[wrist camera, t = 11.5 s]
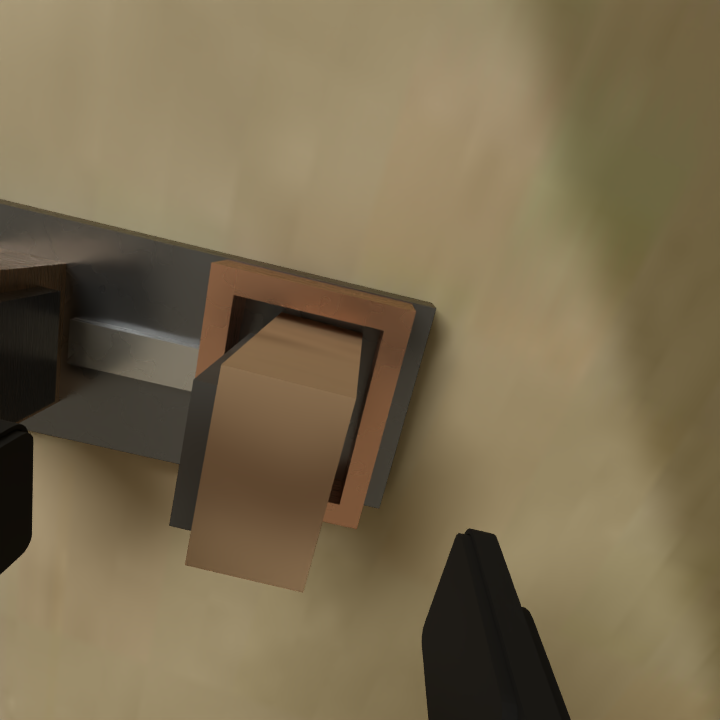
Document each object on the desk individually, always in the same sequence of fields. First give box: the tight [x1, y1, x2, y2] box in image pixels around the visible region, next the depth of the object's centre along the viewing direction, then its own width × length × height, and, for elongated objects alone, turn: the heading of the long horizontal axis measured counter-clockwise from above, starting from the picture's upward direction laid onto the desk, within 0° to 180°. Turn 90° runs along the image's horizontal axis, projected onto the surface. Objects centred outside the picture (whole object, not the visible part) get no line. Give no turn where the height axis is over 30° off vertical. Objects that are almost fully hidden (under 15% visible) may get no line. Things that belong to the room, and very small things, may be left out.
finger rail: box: [0, 199, 436, 529], centre depth 17 cm, size 22×10×10 cm, turn 77°
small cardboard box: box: [169, 312, 363, 592], centre depth 16 cm, size 6×4×8 cm
